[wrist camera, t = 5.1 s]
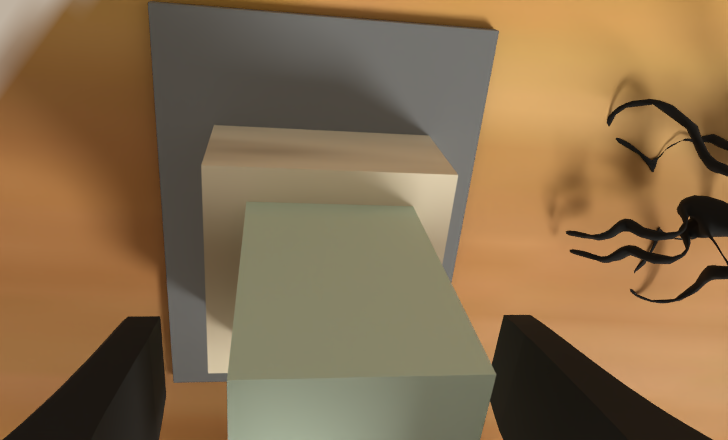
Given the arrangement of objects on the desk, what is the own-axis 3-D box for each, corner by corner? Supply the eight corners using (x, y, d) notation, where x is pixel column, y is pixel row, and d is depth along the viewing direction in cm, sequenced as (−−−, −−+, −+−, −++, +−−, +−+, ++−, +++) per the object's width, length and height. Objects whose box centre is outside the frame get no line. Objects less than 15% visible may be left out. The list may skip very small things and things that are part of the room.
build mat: (431, 371, 21) (433, 377, 21) (175, 376, 19) (173, 382, 19) (495, 29, 16) (499, 31, 15) (150, 1, 14) (147, 2, 14)
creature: (573, 300, 22) (806, 252, 20) (615, 412, 17) (922, 364, 16) (536, 113, 18) (816, 35, 16) (577, 193, 14) (973, 96, 12)
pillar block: (394, 337, 16) (453, 544, 10) (245, 339, 15) (229, 560, 10) (413, 206, 14) (496, 374, 9) (246, 201, 13) (226, 379, 8)
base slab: (403, 308, 19) (423, 369, 16) (217, 308, 18) (208, 373, 15) (429, 135, 16) (458, 174, 14) (214, 125, 15) (201, 165, 13)
